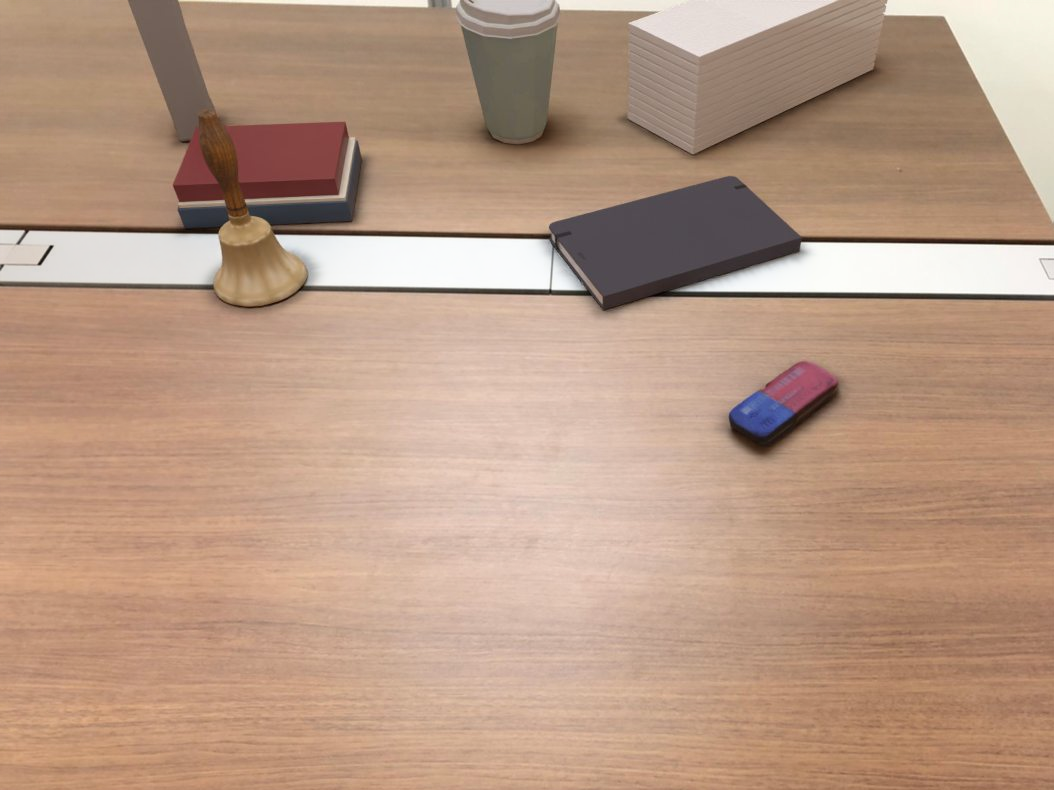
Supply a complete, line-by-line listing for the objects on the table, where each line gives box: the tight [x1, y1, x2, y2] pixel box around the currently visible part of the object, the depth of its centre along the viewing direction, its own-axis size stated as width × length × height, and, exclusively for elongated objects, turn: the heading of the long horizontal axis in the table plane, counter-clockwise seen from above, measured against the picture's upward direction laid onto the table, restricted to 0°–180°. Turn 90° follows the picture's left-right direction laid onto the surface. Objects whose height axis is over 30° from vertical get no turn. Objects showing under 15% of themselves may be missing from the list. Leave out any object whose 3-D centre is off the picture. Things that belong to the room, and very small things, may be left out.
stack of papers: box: [627, 0, 888, 155], centre depth 108 cm, size 32×11×11 cm, turn 133°
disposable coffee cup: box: [455, 0, 562, 145], centre depth 99 cm, size 11×11×15 cm
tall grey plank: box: [127, 0, 218, 143], centre depth 94 cm, size 4×5×25 cm
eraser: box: [728, 360, 840, 447], centre depth 75 cm, size 11×4×2 cm, turn 135°
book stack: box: [172, 121, 363, 230], centre depth 94 cm, size 12×16×4 cm
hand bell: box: [198, 109, 308, 308], centre depth 80 cm, size 8×8×16 cm
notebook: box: [548, 175, 803, 311], centre depth 90 cm, size 13×2×21 cm
